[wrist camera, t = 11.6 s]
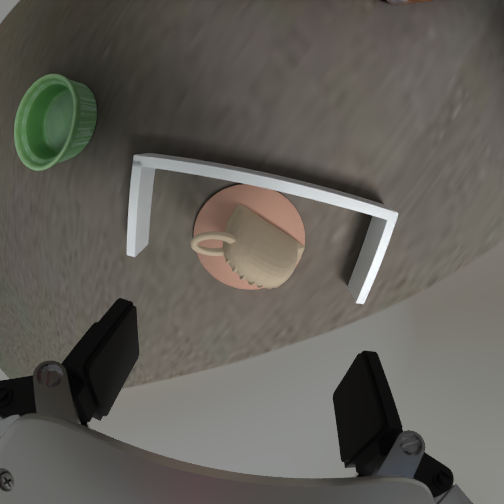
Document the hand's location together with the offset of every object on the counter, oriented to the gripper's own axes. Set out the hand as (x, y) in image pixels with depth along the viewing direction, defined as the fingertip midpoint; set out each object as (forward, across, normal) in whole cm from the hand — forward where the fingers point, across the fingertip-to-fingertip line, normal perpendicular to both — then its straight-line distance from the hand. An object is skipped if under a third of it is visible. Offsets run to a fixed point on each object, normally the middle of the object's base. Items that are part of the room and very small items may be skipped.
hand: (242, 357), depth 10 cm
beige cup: (+14, 0, 0) cm, 14 cm away
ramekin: (+14, +21, -8) cm, 27 cm away
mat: (+14, +1, 0) cm, 14 cm away
